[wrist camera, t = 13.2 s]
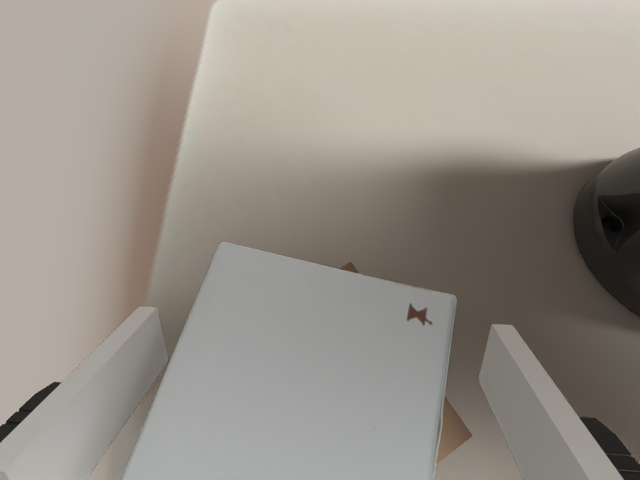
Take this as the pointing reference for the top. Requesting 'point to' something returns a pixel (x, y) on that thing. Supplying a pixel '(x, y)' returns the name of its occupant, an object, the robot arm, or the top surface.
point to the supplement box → (300, 377)
